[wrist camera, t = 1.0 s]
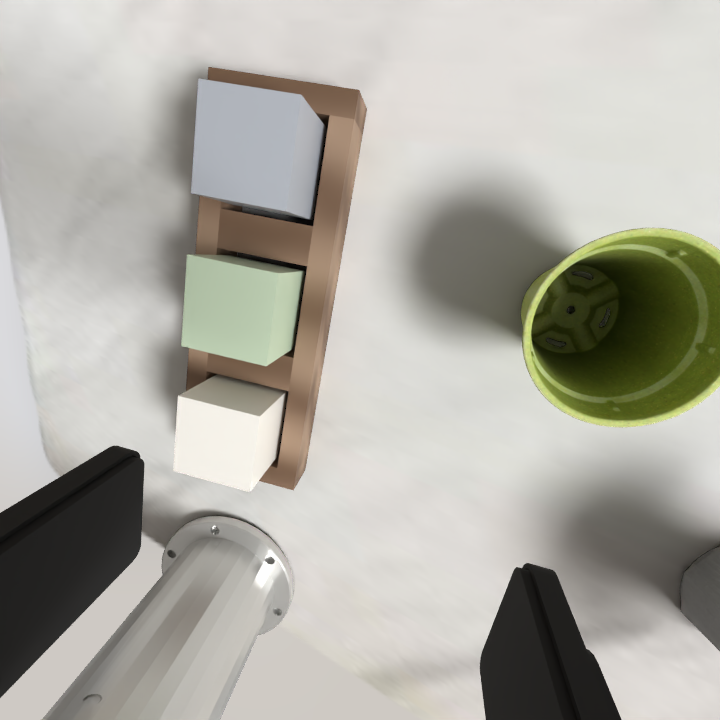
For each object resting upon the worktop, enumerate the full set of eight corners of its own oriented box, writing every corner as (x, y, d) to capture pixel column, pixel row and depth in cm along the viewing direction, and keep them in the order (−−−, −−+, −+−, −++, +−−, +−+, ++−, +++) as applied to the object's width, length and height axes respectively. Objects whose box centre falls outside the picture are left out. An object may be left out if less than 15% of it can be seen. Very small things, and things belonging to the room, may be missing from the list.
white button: (277, 455, 30) (250, 492, 26) (212, 438, 31) (173, 471, 26) (287, 390, 29) (259, 416, 24) (218, 373, 30) (177, 395, 25)
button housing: (305, 469, 33) (293, 490, 30) (202, 442, 34) (181, 459, 31) (366, 109, 25) (359, 89, 22) (232, 87, 26) (208, 67, 23)
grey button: (312, 220, 26) (286, 211, 21) (234, 205, 26) (191, 193, 21) (326, 127, 24) (301, 94, 19) (242, 113, 25) (198, 78, 20)
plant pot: (613, 391, 27) (695, 450, 19) (477, 359, 28) (498, 401, 20) (670, 254, 25) (794, 252, 16) (518, 224, 26) (562, 208, 17)
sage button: (293, 348, 28) (266, 366, 23) (222, 331, 29) (181, 346, 24) (304, 270, 27) (278, 273, 22) (229, 255, 27) (187, 254, 22)
